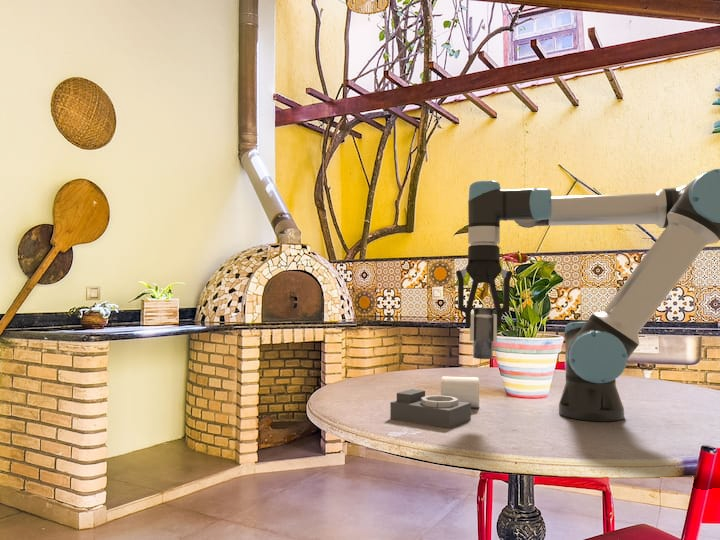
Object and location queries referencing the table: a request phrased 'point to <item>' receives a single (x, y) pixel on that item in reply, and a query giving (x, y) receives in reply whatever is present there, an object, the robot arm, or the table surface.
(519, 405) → the table surface
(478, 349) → the dark metallic upright block
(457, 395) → the cream upright block
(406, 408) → the camera body
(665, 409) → the table surface
